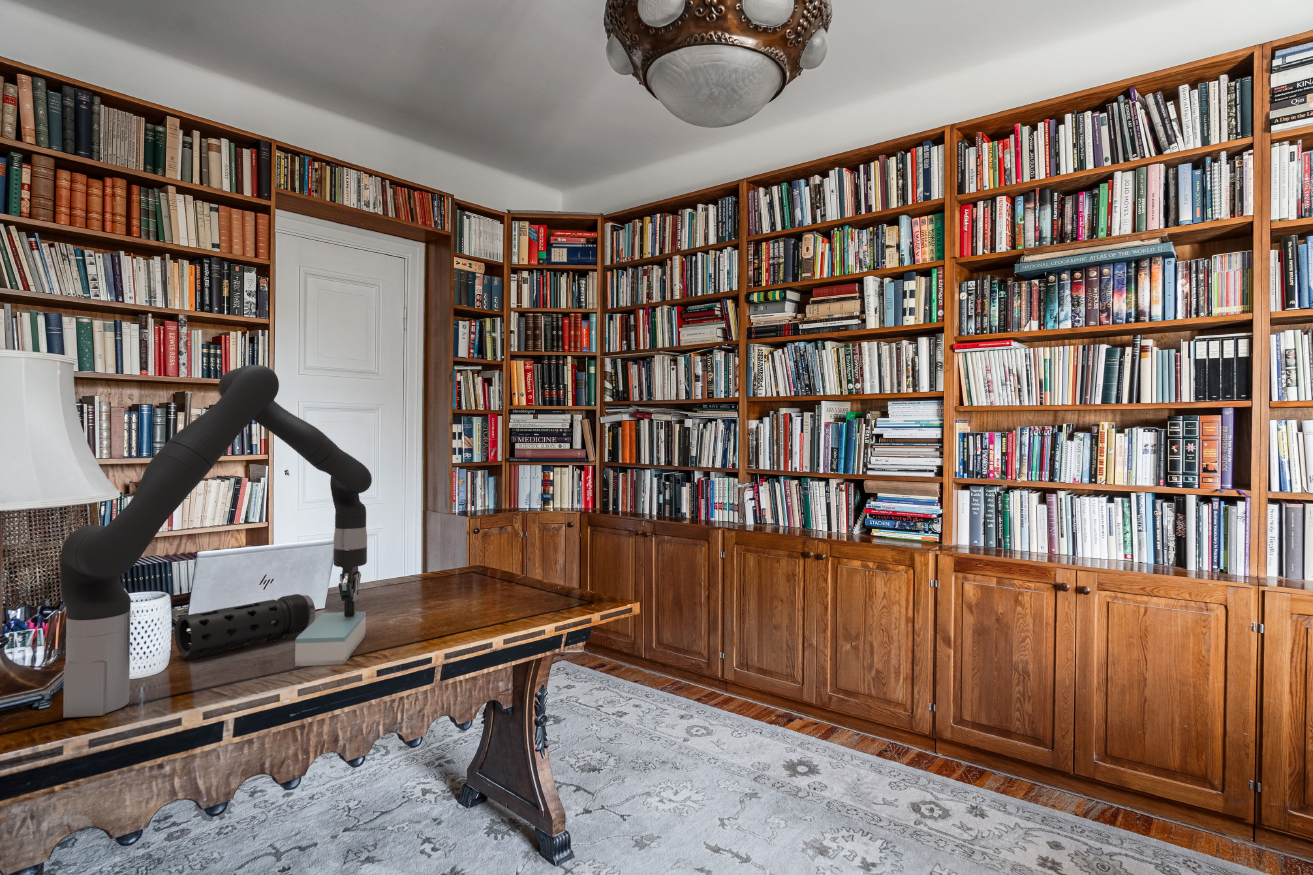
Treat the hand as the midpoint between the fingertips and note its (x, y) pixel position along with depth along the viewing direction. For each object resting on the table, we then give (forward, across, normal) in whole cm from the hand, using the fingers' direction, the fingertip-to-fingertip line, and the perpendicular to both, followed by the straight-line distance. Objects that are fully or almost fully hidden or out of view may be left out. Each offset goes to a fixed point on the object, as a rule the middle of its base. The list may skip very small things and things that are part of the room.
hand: (349, 615), depth 172 cm
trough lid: (+1, +7, -2) cm, 7 cm away
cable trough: (+6, +7, -2) cm, 10 cm away
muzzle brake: (+6, +1, -22) cm, 23 cm away
